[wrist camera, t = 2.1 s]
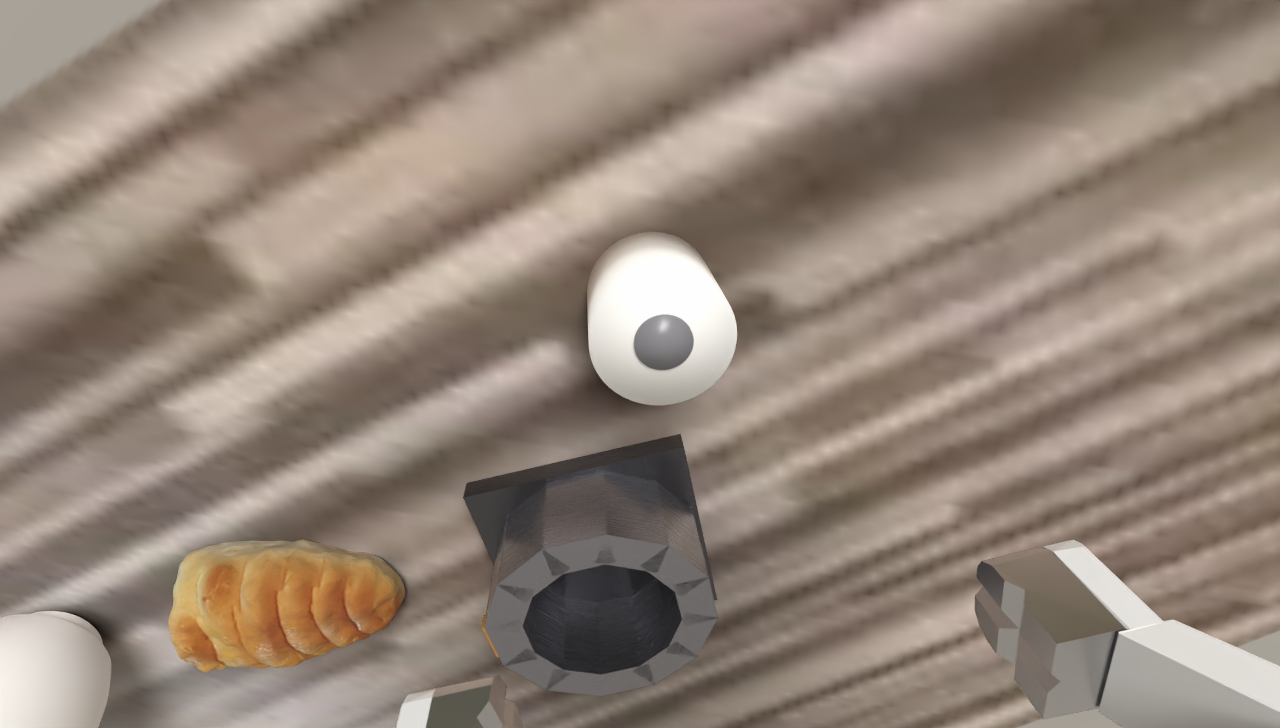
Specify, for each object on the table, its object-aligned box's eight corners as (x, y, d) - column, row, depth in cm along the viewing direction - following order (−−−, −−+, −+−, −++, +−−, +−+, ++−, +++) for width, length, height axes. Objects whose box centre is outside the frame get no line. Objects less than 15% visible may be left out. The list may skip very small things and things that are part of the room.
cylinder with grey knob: (700, 218, 23) (727, 256, 19) (719, 333, 25) (746, 389, 21) (572, 247, 23) (571, 292, 19) (603, 360, 25) (608, 421, 21)
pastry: (392, 519, 28) (368, 583, 25) (421, 616, 32) (402, 684, 28) (183, 536, 28) (130, 604, 24) (234, 634, 31) (193, 706, 28)
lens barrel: (680, 434, 27) (700, 508, 23) (713, 584, 32) (734, 670, 28) (466, 483, 28) (446, 566, 23) (530, 625, 32) (523, 717, 28)
